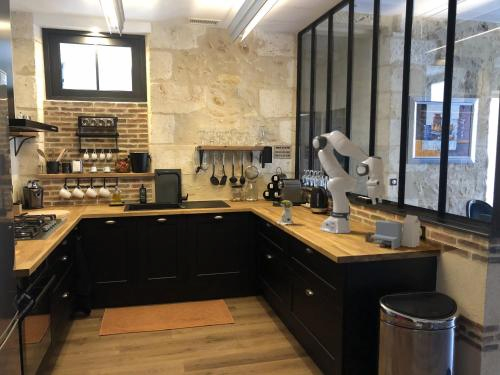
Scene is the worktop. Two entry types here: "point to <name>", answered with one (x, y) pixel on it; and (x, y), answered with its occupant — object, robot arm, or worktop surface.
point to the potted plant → (286, 213)
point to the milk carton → (411, 231)
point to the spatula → (371, 240)
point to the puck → (383, 244)
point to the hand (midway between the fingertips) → (377, 203)
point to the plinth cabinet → (389, 232)
